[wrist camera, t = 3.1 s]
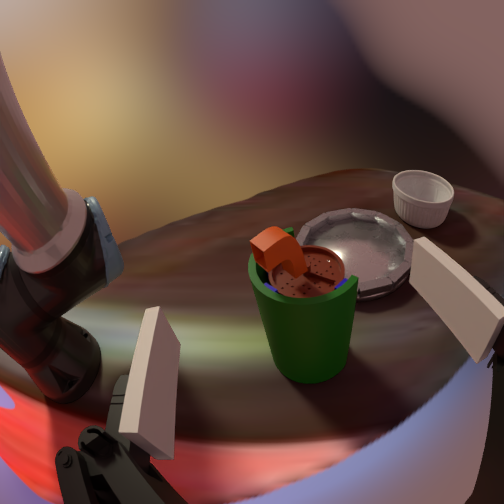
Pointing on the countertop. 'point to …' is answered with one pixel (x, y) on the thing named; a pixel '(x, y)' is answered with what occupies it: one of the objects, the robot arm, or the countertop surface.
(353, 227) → the tray
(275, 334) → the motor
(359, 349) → the countertop surface
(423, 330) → the countertop surface
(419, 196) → the ramekin
